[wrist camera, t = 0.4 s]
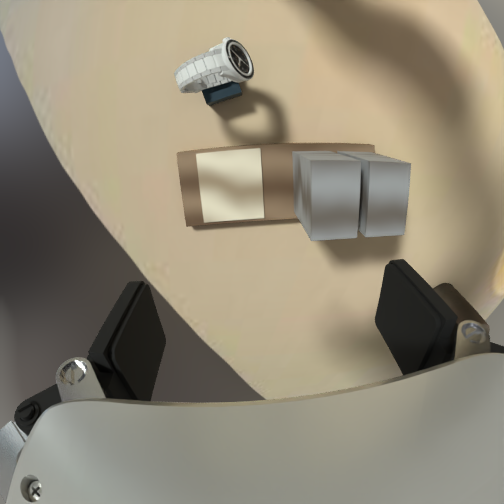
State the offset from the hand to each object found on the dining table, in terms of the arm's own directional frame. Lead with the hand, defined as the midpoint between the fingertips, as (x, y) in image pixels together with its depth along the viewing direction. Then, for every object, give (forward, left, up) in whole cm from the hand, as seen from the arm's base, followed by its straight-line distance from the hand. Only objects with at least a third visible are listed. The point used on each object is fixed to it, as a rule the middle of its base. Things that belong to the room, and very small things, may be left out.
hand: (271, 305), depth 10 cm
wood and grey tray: (+1, +4, -28) cm, 28 cm away
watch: (-13, -3, -28) cm, 31 cm away
